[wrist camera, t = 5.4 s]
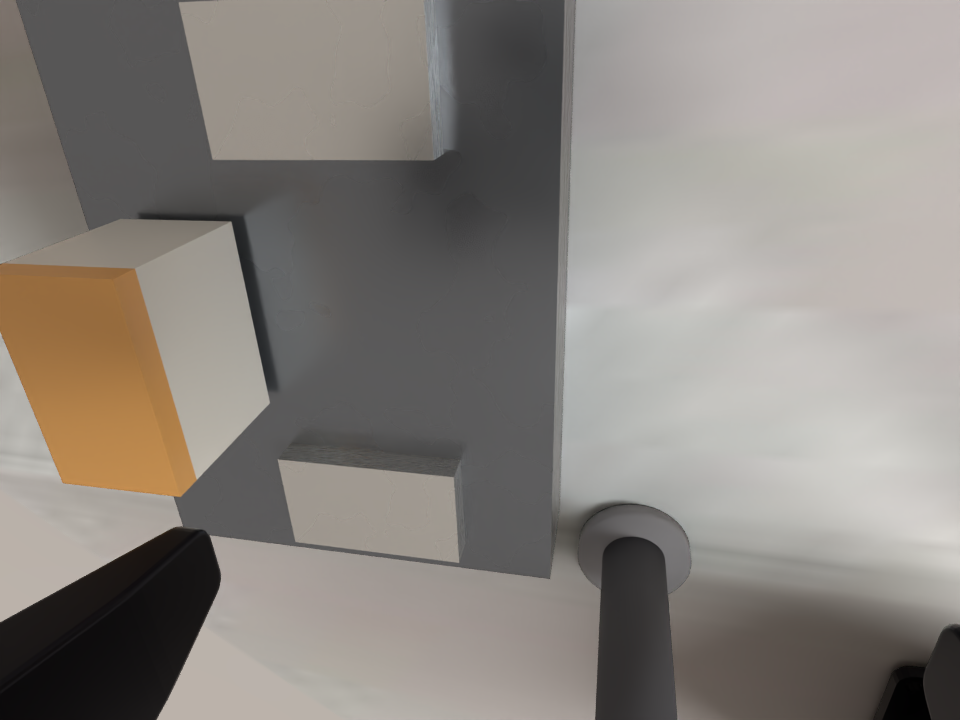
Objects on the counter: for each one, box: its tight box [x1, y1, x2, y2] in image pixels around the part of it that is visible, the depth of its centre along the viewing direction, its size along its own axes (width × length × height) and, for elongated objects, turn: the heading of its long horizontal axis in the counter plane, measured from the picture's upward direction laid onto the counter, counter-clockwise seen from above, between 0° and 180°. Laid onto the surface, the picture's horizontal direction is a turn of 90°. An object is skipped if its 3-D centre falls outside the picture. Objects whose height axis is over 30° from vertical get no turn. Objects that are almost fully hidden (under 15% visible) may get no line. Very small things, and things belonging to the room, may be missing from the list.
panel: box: [16, 0, 576, 579], centre depth 17 cm, size 16×12×4 cm
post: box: [578, 505, 691, 720], centre depth 17 cm, size 4×4×9 cm
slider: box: [0, 219, 270, 497], centre depth 15 cm, size 5×3×4 cm, turn 2°
